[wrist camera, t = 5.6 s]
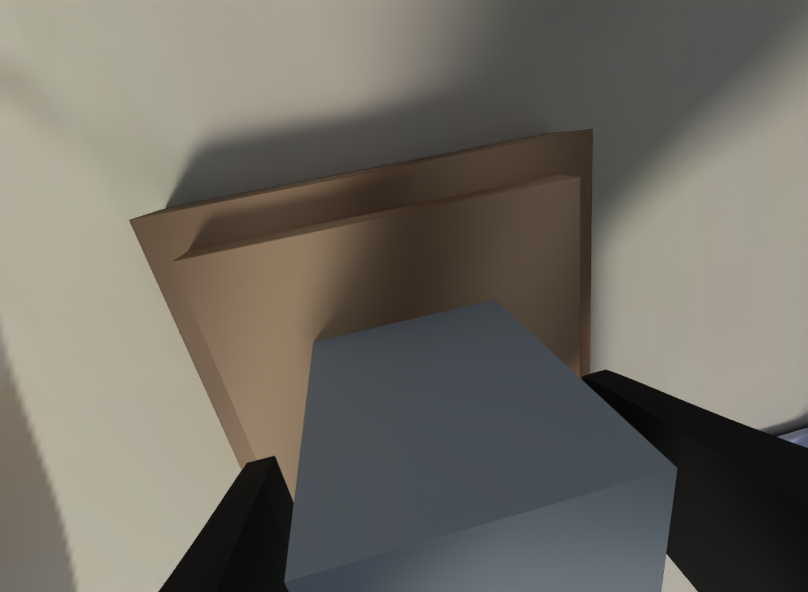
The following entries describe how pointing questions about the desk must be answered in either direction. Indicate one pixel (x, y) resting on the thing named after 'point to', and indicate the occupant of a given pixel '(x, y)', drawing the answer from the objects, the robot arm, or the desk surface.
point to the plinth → (371, 269)
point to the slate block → (469, 468)
